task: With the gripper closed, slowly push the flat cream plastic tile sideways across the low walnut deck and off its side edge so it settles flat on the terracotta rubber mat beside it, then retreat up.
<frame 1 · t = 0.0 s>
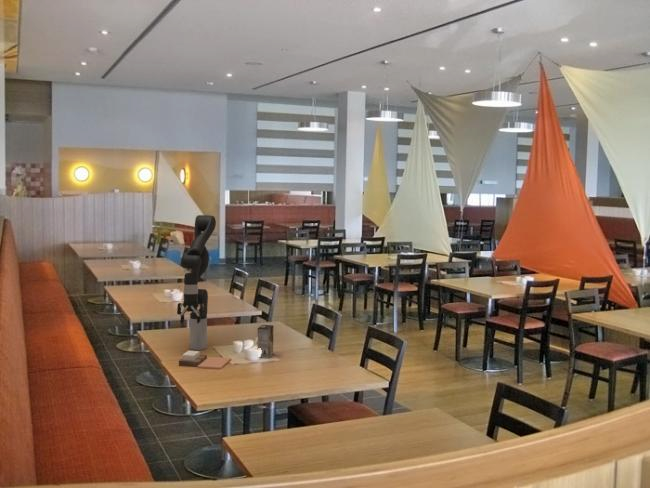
hand: (190, 322, 366), 17 cm above the table, tool pointing down, fingers open, 8 cm apart
walnut deck: (193, 362, 351), on the table
cream tile: (191, 357, 351), point 2 cm above the table, touching walnut deck
terracotta mat: (214, 364, 350), on the table
coffee box: (265, 356, 367), on the table
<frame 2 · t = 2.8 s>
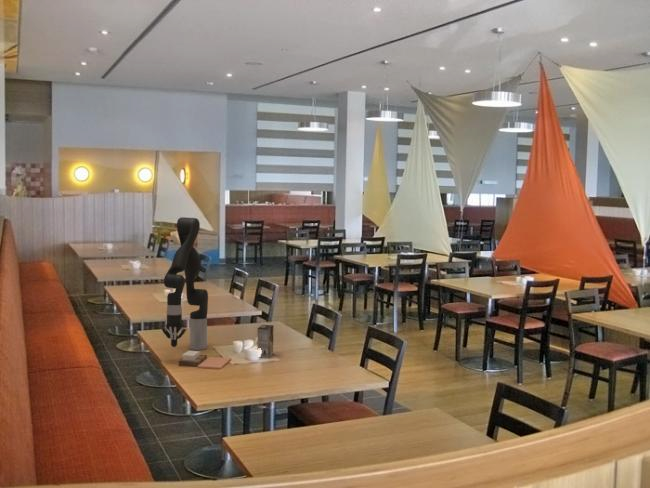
hand: (174, 346, 352), 8 cm above the table, tool pointing down, fingers closed
nothing on the table moved.
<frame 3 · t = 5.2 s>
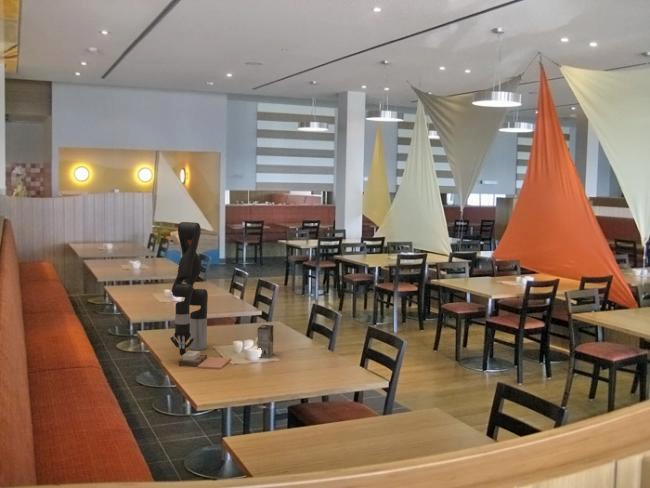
hand: (182, 355, 352), 4 cm above the table, tool pointing down, fingers closed
cream tile: (191, 357, 351), point 2 cm above the table, touching gripper, walnut deck
everything else where it was.
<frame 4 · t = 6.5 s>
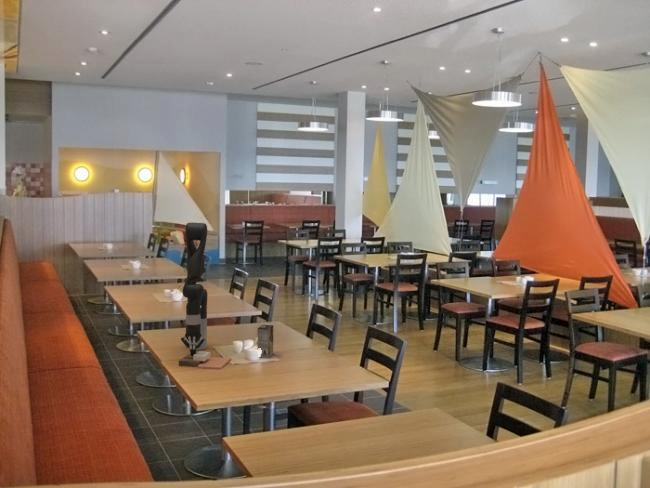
hand: (193, 356, 351), 4 cm above the table, tool pointing down, fingers closed
cream tile: (201, 358, 350), point 3 cm above the table, touching gripper, walnut deck
everything else where it was.
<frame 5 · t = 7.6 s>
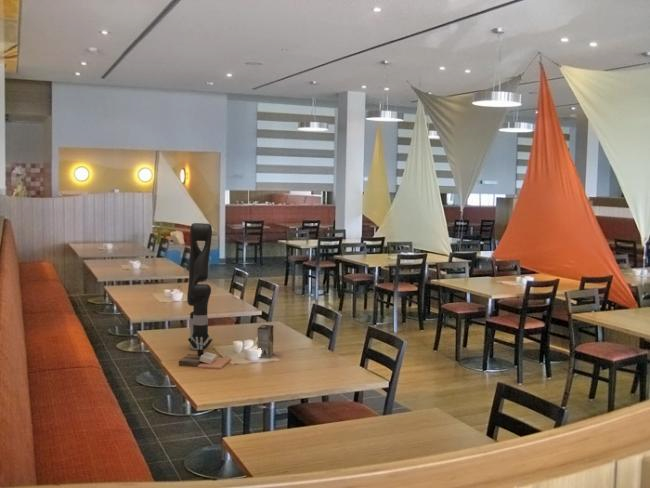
hand: (200, 356, 350), 4 cm above the table, tool pointing down, fingers closed
cream tile: (207, 360, 350), point 2 cm above the table, tilted 15°, touching gripper, terracotta mat, walnut deck
everything else where it was.
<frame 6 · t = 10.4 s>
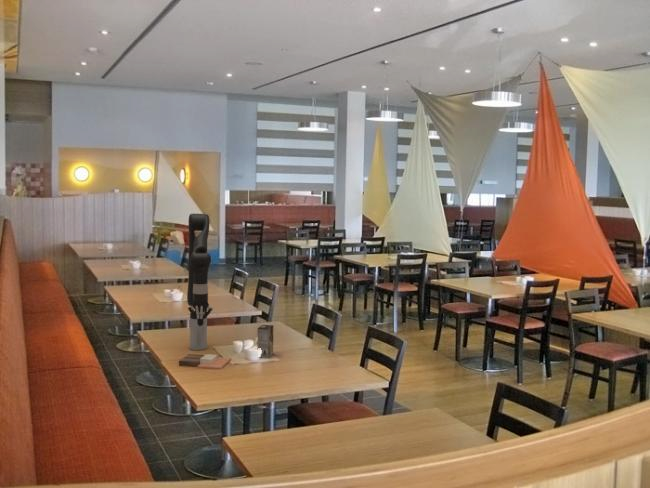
hand: (200, 325, 349), 19 cm above the table, tool pointing down, fingers closed
cream tile: (208, 361, 350), point 1 cm above the table, touching terracotta mat
everything else where it was.
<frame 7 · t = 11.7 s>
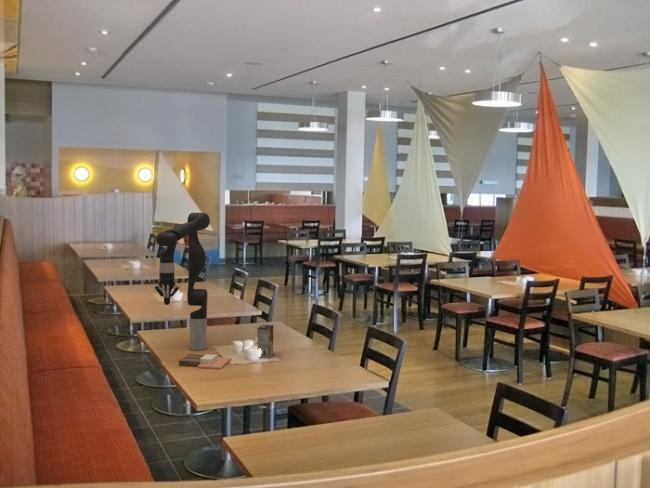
hand: (167, 304, 354), 29 cm above the table, tool pointing down, fingers closed
nothing on the table moved.
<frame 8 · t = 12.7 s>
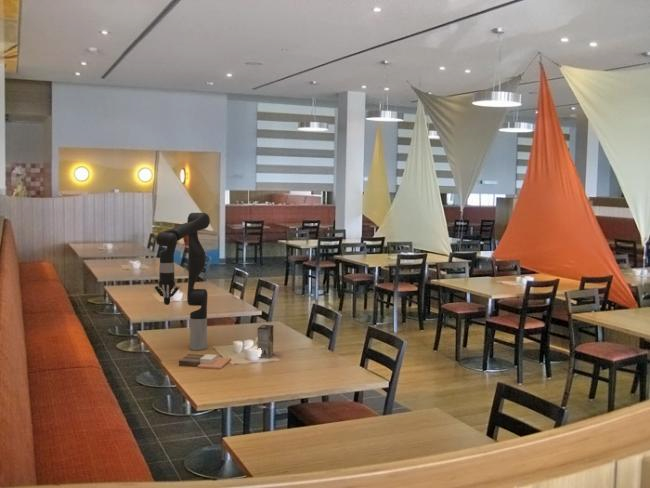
hand: (167, 304, 354), 29 cm above the table, tool pointing down, fingers closed
nothing on the table moved.
at the end: cream tile inside the target area (3.8 cm from its centre), point 1.0 cm above the table; cream tile tilted 0°; the gripper is holding nothing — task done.
